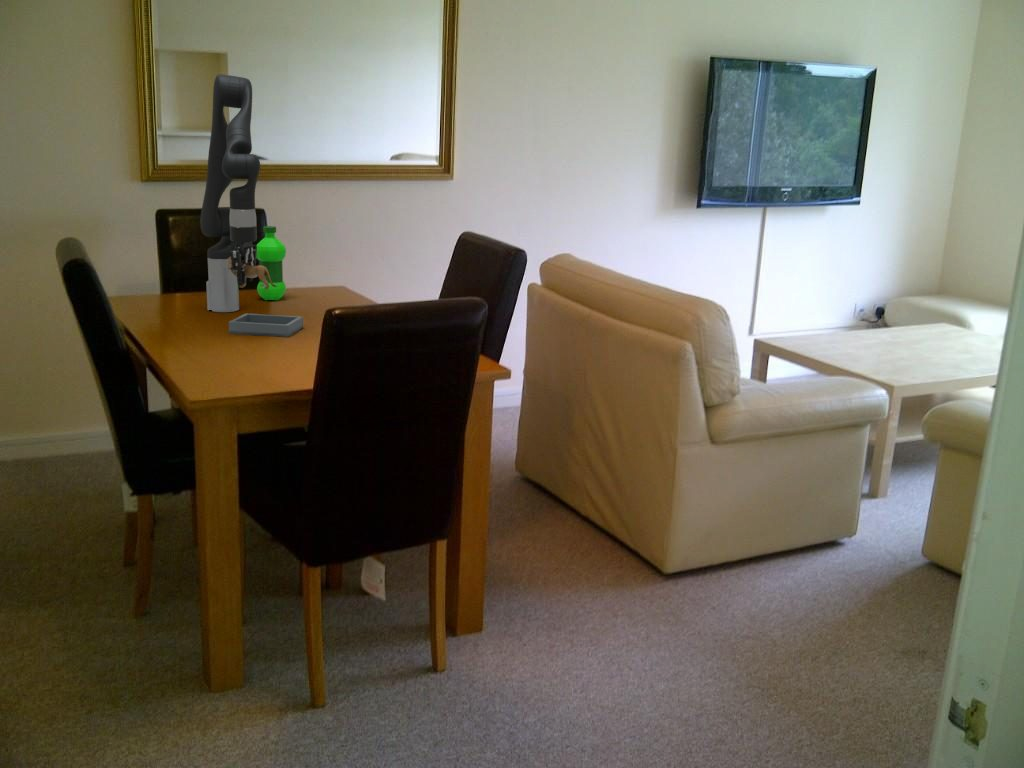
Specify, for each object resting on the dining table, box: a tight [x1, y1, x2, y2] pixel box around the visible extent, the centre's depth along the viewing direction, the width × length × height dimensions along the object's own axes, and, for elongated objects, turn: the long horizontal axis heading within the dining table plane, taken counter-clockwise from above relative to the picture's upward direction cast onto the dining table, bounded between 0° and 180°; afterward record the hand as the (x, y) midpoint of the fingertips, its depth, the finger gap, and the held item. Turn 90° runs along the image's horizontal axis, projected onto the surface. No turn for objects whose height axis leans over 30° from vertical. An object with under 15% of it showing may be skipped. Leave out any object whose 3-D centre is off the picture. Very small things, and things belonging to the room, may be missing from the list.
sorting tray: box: [228, 312, 304, 338], centre depth 311 cm, size 18×13×4 cm
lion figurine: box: [227, 257, 277, 289], centre depth 303 cm, size 15×5×9 cm, turn 85°
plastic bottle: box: [256, 225, 287, 301], centre depth 356 cm, size 10×10×25 cm
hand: (245, 282), depth 305 cm, fingers closed on lion figurine, 4 cm apart
